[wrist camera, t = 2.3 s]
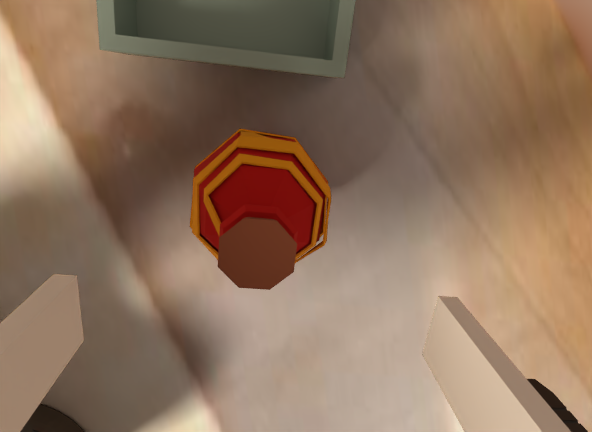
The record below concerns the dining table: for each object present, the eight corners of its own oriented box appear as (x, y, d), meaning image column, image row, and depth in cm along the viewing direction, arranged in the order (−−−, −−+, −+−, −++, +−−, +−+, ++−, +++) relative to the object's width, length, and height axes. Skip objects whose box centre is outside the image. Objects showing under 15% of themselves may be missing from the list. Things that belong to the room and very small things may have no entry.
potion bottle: (182, 203, 33) (120, 295, 19) (234, 95, 30) (207, 111, 16) (286, 252, 35) (299, 367, 21) (343, 157, 33) (401, 216, 19)
